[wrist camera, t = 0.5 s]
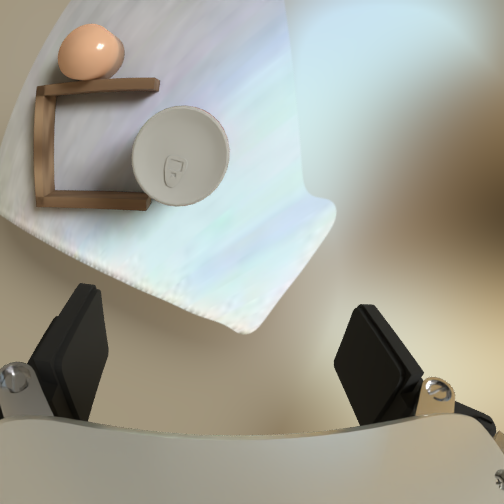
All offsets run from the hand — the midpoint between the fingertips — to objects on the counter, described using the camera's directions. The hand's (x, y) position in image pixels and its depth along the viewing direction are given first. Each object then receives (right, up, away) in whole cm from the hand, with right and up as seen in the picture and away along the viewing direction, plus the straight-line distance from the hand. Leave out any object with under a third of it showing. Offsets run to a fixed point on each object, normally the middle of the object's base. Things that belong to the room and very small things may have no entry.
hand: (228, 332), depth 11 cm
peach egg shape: (-16, +24, +15) cm, 33 cm away
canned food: (-6, +15, +21) cm, 27 cm away
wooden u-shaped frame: (-17, +15, +20) cm, 30 cm away
